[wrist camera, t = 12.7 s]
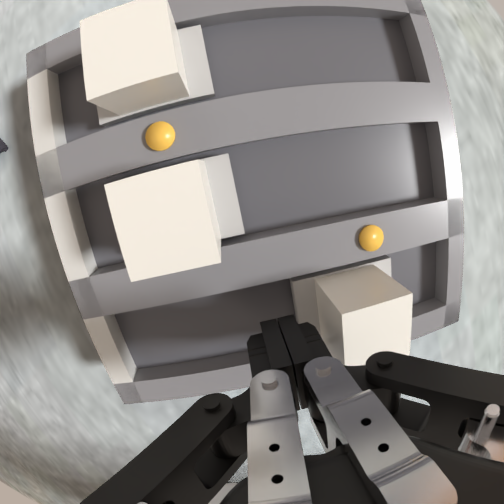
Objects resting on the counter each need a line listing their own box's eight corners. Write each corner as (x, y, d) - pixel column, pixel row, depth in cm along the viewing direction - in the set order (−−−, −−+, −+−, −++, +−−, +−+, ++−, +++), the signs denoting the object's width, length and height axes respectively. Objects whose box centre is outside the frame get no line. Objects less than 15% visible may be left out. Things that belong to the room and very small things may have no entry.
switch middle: (228, 153, 13) (230, 148, 9) (243, 230, 14) (253, 258, 10) (117, 181, 13) (76, 190, 9) (136, 254, 14) (105, 290, 10)
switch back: (384, 253, 15) (432, 284, 11) (386, 312, 16) (427, 353, 12) (289, 276, 15) (314, 319, 11) (298, 336, 16) (321, 389, 12)
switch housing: (384, 18, 14) (419, -8, 10) (423, 295, 20) (460, 322, 15) (62, 71, 14) (24, 52, 9) (138, 362, 19) (123, 406, 15)
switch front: (201, 30, 11) (194, -17, 7) (214, 96, 12) (212, 67, 8) (96, 61, 11) (54, 30, 7) (105, 126, 12) (61, 114, 8)
